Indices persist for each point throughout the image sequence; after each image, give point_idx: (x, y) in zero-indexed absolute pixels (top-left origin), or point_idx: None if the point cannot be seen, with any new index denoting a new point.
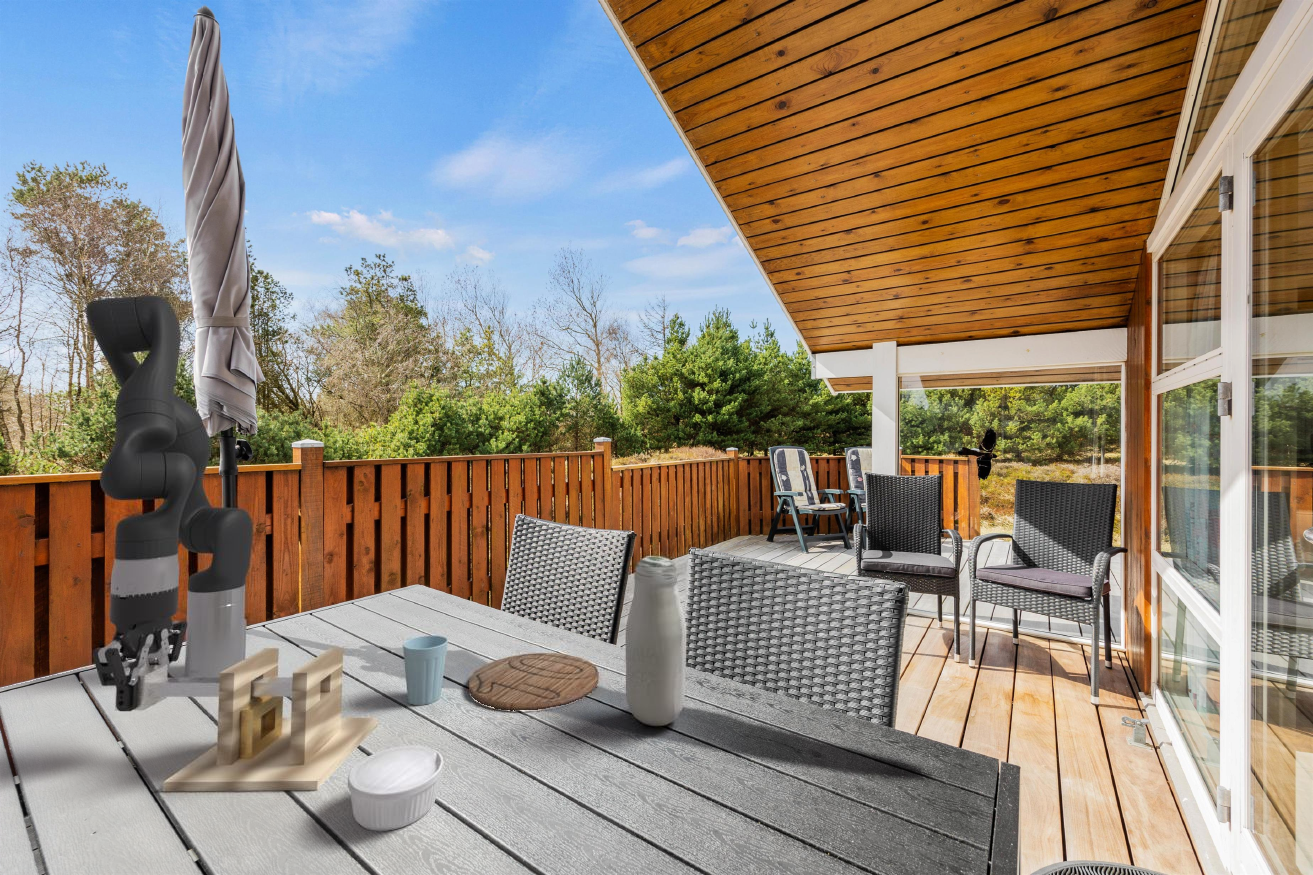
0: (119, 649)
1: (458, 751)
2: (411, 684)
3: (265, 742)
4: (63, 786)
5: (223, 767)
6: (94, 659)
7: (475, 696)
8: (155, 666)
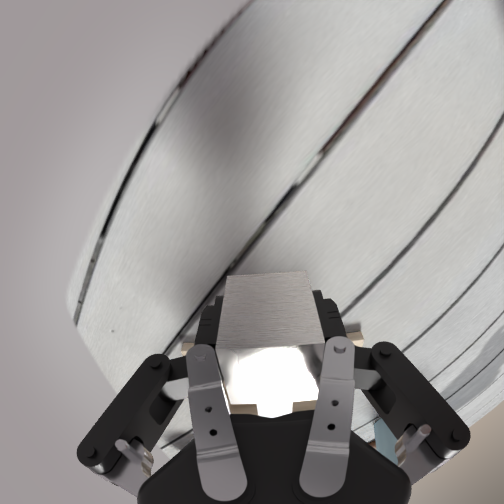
0: (149, 474)
1: None
2: (380, 438)
3: None
4: (161, 210)
5: (223, 382)
6: (90, 432)
7: (371, 445)
8: (305, 385)
